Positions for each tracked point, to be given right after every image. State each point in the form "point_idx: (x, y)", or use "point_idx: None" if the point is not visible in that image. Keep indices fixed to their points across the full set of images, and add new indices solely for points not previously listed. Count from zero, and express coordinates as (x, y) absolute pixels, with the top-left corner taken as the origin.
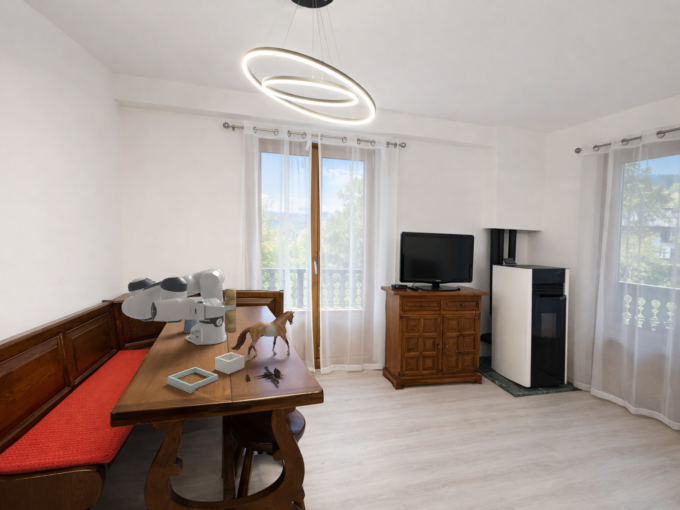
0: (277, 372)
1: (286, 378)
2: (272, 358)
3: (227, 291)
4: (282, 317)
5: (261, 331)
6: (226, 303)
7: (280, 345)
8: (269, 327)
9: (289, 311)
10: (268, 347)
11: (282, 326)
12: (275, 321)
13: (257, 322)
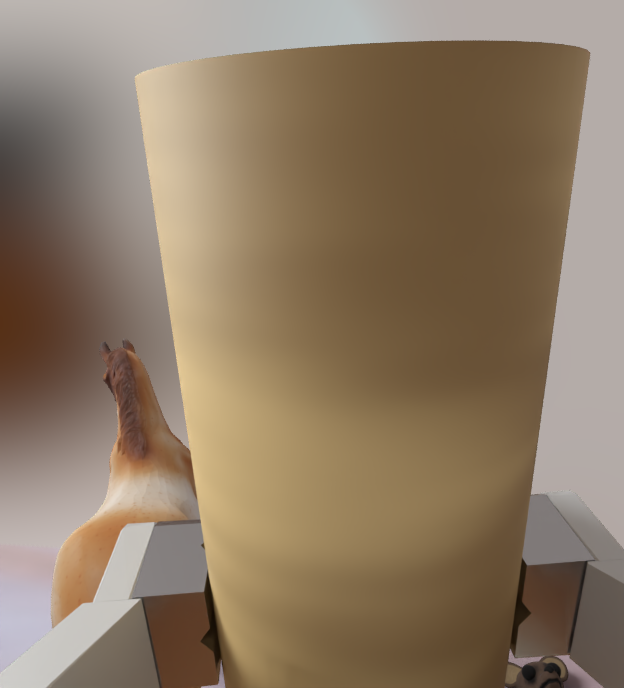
0: (560, 679)
1: (567, 656)
2: (220, 665)
3: (569, 133)
4: (149, 398)
5: None
6: (494, 612)
7: (34, 579)
8: (192, 506)
9: (122, 348)
10: (5, 648)
11: (187, 450)
12: (152, 446)
13: (101, 541)
